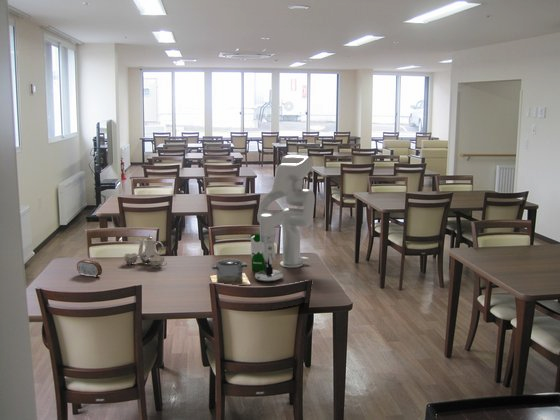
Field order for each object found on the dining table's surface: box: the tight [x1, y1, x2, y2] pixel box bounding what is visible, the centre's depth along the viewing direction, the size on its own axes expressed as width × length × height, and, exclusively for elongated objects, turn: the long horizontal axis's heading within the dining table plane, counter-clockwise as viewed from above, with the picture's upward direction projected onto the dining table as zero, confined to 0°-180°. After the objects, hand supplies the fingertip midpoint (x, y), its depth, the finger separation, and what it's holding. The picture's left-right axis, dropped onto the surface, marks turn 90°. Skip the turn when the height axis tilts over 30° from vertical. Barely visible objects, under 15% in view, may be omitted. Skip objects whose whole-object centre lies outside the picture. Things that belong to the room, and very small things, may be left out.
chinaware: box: [122, 234, 167, 269], centre depth 322 cm, size 28×17×17 cm, turn 72°
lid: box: [254, 264, 284, 282], centre depth 293 cm, size 14×14×6 cm
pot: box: [209, 258, 251, 286], centre depth 291 cm, size 18×18×10 cm
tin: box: [76, 259, 103, 277], centre depth 302 cm, size 15×3×8 cm, turn 65°
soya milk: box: [250, 232, 266, 272], centre depth 311 cm, size 9×9×20 cm
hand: (268, 272), depth 294 cm, fingers closed on lid, 3 cm apart
